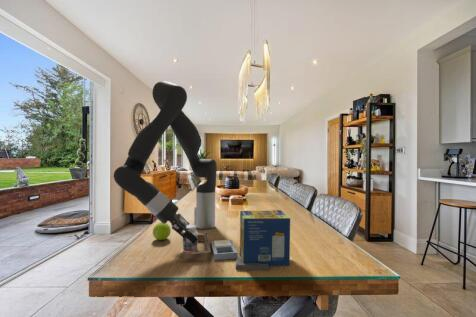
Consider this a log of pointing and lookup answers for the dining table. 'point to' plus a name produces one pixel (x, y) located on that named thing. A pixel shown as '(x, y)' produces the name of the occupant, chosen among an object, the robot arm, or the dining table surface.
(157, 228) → the tennis ball
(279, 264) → the protein box
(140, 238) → the dining table surface
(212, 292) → the dining table surface
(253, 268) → the grey flat block
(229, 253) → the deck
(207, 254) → the frame
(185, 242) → the pill bottle
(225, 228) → the dining table surface
